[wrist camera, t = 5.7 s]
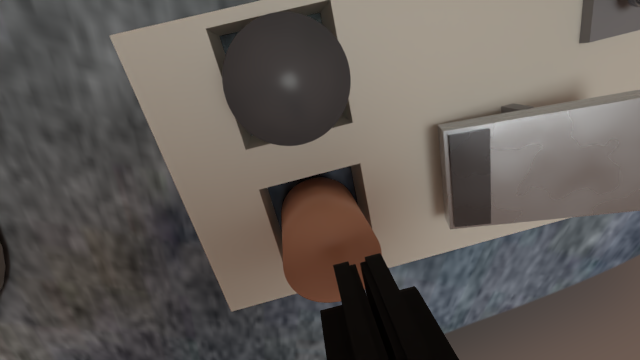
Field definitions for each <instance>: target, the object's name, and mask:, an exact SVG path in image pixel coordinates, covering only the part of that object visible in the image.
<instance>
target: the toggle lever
mask: <svg viewBox="0 0 640 360" xmlns="http://www.w3.org/2000/svg"><path fill="white" fill-rule="evenodd" d="M627 1H628V3H629V4H630V5H631V6H633V7H640V0H627Z"/></svg>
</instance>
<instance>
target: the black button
mask: <svg viewBox="0 0 640 360" xmlns="http://www.w3.org/2000/svg"><path fill="white" fill-rule="evenodd" d="M222 83H223V91H224V94H225V98H226V101H227V103H228V106H229V108H230V110H231V112H232V113H233V115H234V117H235V118H236V119H237V121H238V122H239V123H240V124H241V125H242V126H243V127H244V128H245V129H246V130H247V131H248V132H249V133H251V134H252V135H254V136H255V137H257V138H259V139H261V140H263V141H265V142H268V143H271V144H275V145H280V146H297V145H302V144H306V143H309V142H312V141H314V140H316V139H318V138H319V137H321V136H323V135H324V134H325V133H327V132H328V131H329V130H330V129H331V128H332V127H333V126H334V125H335V124H336V123H337V121H338V120H339V118H340V117H341V115H342V113H343V111H344V110H345V107H346V104H347V102H348V98H349V94H350V86H351V77H350V68H349V64H348V60H347V57H346V55H345V52H344V50H343V48H342V46H341V44H340V43H339V41H338V40H337V39H336V37H335V36H334V35H333V34H332V33H331V32H330V30H328V29H327V28H326V27H325V26H324V25H322V24H321V23H319V22H318V21H316V20H315V19H313V18H310V17H308V16H306V15H302V14H299V13H294V12H275V13H270V14H266V15H263V16H261V17H259V18H257V19H255V20H253V21H251V22H250V23H248V24H247V25H246V26H245V27H244V28H243V29H241V30H240V31H239V33H238V34H237V35H236V36H235V38H234V39H233V41H232V42H231V44H230V46H229V48H228V50H227V53H226V55H225V59H224V63H223V71H222Z"/></svg>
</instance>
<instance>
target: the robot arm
mask: <svg viewBox="0 0 640 360" xmlns="http://www.w3.org/2000/svg"><path fill="white" fill-rule="evenodd" d="M360 266H361V271H362V276H363V280H364V285H365V290H366V293H365V290H364V287H363V284H362V281H361V279H360V276H359V273H358V270H357V267H356V264H353V265H349V262H348V261H347V262H343V263H339V264H335V265H333V267H334V272H335V276H336V280H337V284H338V289H339V293H340V297H341V301H342V305H340V306H336V307H332V308H329V309H325V310H321V311H320V313H321V321H322V328H323V335H324V342H325V349H326V357H327V360H459V359H458V357H457V356H456V354H455V352H454V350H453V349H452V347H451V345H450V344H449V342H448V340H447V339H446V337H445V335H444V334H443V332H442V330H441V328H440V327H439V325H438V323H437V322H436V320H435V318H434V317H433V315H432V313H431V311H430V310H429V308H428V306H427V305H426V303H425V301H424V300H423V298H422V296H421V295H420V293H419V291H418V290H417V288H416V287H415V286H414V287H410V288H406V289H402V290H399V289H398V287H397V285H396V283H395V281H394V279H393V277H392V275H391V273H390V271H389V269H388V267H387V265H386V263H385V261H384V259H383V257H382V255H381V254H380V253H378V254H374V255H370V256H367V257H365V262H361V263H360ZM4 275H5V260H4V254H3V248H2V245H1V243H0V291H1V288H2V286H3V284H4ZM366 295H367V296H366Z"/></svg>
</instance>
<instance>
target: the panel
mask: <svg viewBox="0 0 640 360" xmlns="http://www.w3.org/2000/svg"><path fill="white" fill-rule="evenodd" d="M275 12H294V13H299V14H302V15H311V14H315V13H319V12H320V14H321V19H322V24H323V25H324V26H325V27H326V28H327V29H328V30H330V32H331V33H332V34H333V35H334V36H335V37H336V39H337V40H338V41H339V43H340V44H341V46H342V48H343V50H344V52H345V55H346V57H347V60H348V64H349V68H350V77H351V86H350V94H349V98H348V102H347V104H346V107H345V110H344V111H343V113H342V115H341V117H340V118H339V120H338V121H337V123H336V124H335V125H334V126H333V127H332V128H331V129H330V130H329V131H328V132H327V133H325V134H324V135H323V136H321V137H319V138H318V139H316V140H314V141H312V142H309V143H306V144H302V145H297V146H280V145H275V144H271V143H268V142H265V141H263V140H261V139H259V138H257V137H255V136H254V135H252V136H251V134H250V133H249V132H248V131H247V130H246V129H245V128H244V127H243V126H242V125H241V124H240V123H239V122H238V121H237V119H236V118H235V117H234V115H233V113H232V112H231V110H230V108H229V106H228V103H227V101H226V98H225V94H224V91H223V83H222V71H223V63H224V59H225V52H224V49H223V46H222V43H221V40H220V36H221V35H226V34H230V33H234V32H238V31H240V30H241V29H243V28H244V27H245V26H246V25H247V24H248V23H250V22H251V21H253V20H255V19H257V18H259V17H261V16H263V15H266V14H270V13H275ZM109 36H110V38H111V40H112V43H113V45H114V47H115V49H116V52H117V54H118V56H119V59H120V61H121V63H122V65H123V68H124V70H125V72H126V74H127V77H128V79H129V81H130V83H131V86H132V88H133V90H134V92H135V95H136V97H137V99H138V102H139V104H140V106H141V108H142V111H143V113H144V115H145V117H146V120H147V122H148V124H149V126H150V129H151V131H152V133H153V135H154V138H155V140H156V142H157V145H158V147H159V149H160V151H161V154H162V156H163V158H164V160H165V163H166V165H167V167H168V169H169V172H170V174H171V176H172V178H173V181H174V183H175V185H176V188H177V190H178V192H179V194H180V197H181V199H182V201H183V203H184V206H185V208H186V210H187V212H188V215H189V217H190V219H191V221H192V224H193V226H194V228H195V230H196V233H197V235H198V237H199V240H200V242H201V244H202V246H203V249H204V251H205V253H206V255H207V258H208V260H209V262H210V264H211V267H212V269H213V271H214V273H215V276H216V278H217V280H218V283H219V285H220V287H221V289H222V292H223V294H224V296H225V298H226V301H227V303H228V305H229V307H230V310H231V312H232V311H235V310H239V309H243V308H246V307H250V306H253V305H257V304H261V303H264V302H268V301H271V300H275V299H279V298H282V297H286V296H289V295H293V294H297V292H295V291H294V290H293V289H292V288H291V286H290V285H289V284H288V282H287V280H286V278H285V275H284V271H283V250H282V232H281V229H280V226H279V223H278V219H277V216H276V213H275V210H274V207H273V204H272V200H271V197H270V194H269V191H268V188H267V187H271V186H275V185H279V184H283V183H286V182H290V181H294V180H298V179H302V178H306V177H310V176H313V175H317V174H321V173H325V172H329V171H333V170H336V169H340V168H344V167H348V166H351V171H352V176H353V182H354V187H355V192H356V197H357V202H358V206H359V208H360V210H361V212H362V213H363V215H364V217H365V218H366V220H367V222H368V223H369V225H370V227H371V229H372V230H373V232H374V234H375V235H376V237H377V239H378V241H379V243H380V246H381V252H382V257H383V259H384V261H385V263H386V265H387V267H388V268H390V267H394V266H398V265H401V264H405V263H408V262H412V261H416V260H419V259H423V258H426V257H430V256H434V255H437V254H441V253H445V252H448V251H452V250H455V249H459V248H463V247H466V246H470V245H473V244H477V243H481V242H484V241H488V240H491V239H495V238H499V237H502V236H506V235H509V234H513V233H517V232H520V231H524V230H527V229H531V228H535V227H538V226H542V225H545V224H549V223H553V222H556V221H560V220H564V219H567V218H560V219H550V220H540V221H530V222H520V223H510V224H499V225H489V226H479V227H469V228H459V229H450V228H449V226H448V224H447V221H446V219H445V216H444V203H443V190H442V177H441V164H440V150H439V137H438V124H444V123H450V122H455V121H461V120H467V119H473V118H478V117H484V116H490V115H496V114H501V113H507V112H513V111H519V110H524V109H530V108H536V107H542V106H547V105H553V104H559V103H565V102H570V101H576V100H582V99H588V98H593V97H599V96H605V95H610V94H616V93H622V92H628V91H633V90H639V89H640V7H633V6H631V5H630V4H629V3H628V1H627V0H261V1H256V2H252V3H248V4H243V5H239V6H235V7H230V8H226V9H222V10H217V11H213V12H209V13H204V14H200V15H196V16H191V17H187V18H183V19H179V20H174V21H170V22H166V23H161V24H157V25H153V26H148V27H144V28H140V29H135V30H131V31H127V32H122V33H118V34H114V35H109ZM570 218H571V217H570Z"/></svg>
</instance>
